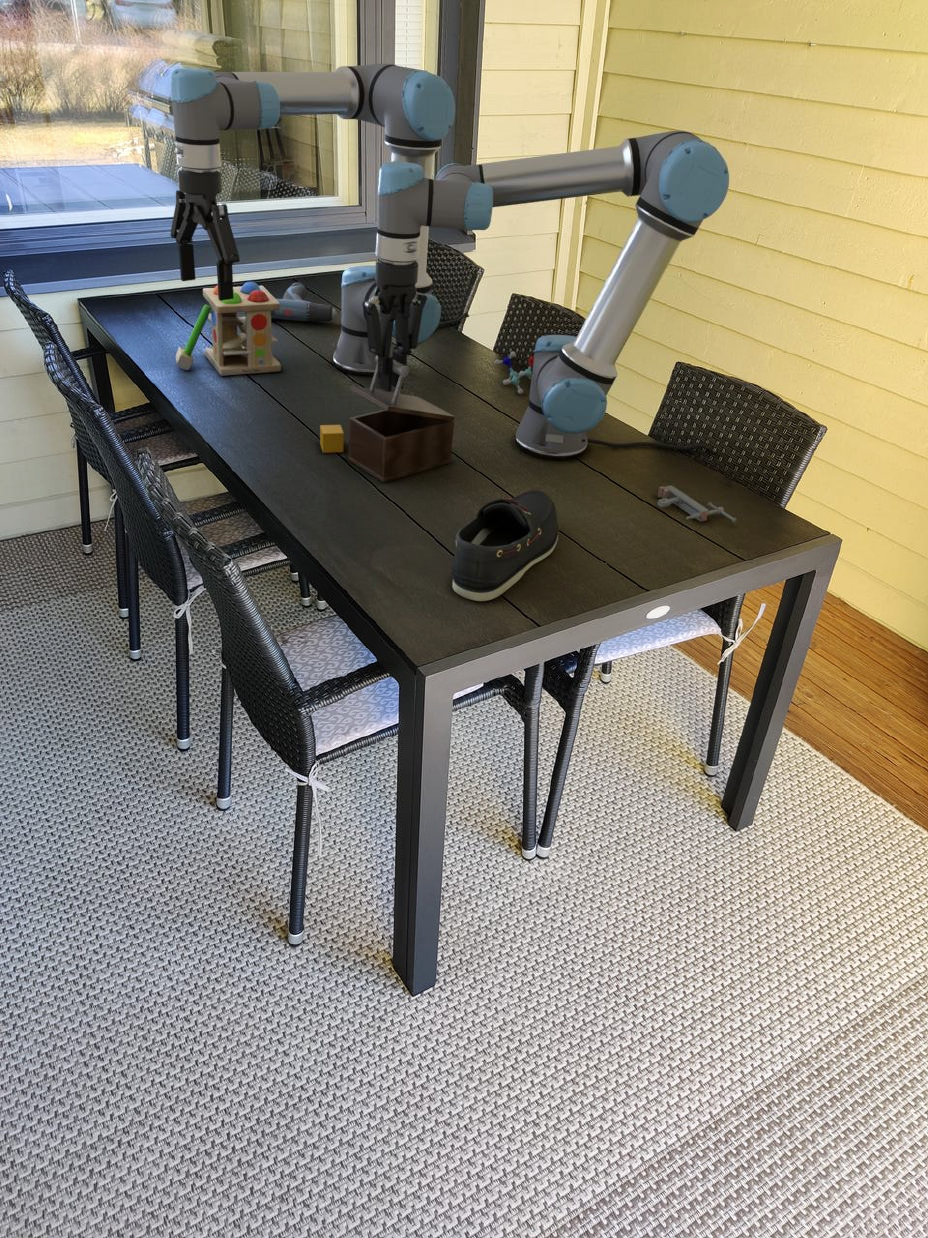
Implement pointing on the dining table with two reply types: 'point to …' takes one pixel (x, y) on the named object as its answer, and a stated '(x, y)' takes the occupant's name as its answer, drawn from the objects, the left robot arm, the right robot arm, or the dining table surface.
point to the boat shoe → (503, 544)
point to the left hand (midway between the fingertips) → (206, 289)
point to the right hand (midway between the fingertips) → (391, 387)
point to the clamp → (669, 498)
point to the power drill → (301, 307)
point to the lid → (400, 397)
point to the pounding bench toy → (229, 347)
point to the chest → (398, 443)
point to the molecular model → (513, 374)
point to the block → (331, 438)
